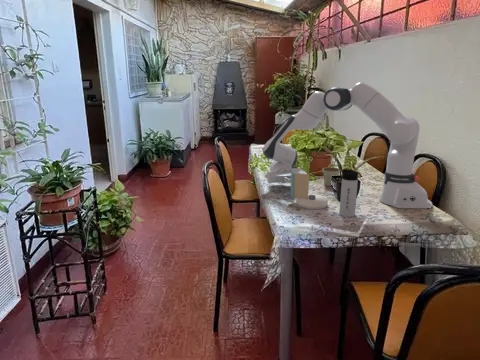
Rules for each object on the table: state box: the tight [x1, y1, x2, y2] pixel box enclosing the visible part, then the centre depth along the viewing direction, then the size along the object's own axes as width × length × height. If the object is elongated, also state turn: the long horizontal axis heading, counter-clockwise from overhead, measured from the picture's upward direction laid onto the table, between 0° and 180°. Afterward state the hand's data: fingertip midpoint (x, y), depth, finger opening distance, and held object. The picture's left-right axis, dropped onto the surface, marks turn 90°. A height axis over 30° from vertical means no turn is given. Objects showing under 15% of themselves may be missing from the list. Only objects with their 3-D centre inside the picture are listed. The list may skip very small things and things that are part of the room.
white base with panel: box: [290, 172, 329, 210], centre depth 165 cm, size 17×14×14 cm
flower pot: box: [321, 166, 340, 187], centre depth 199 cm, size 9×9×9 cm
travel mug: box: [338, 168, 359, 217], centre depth 152 cm, size 6×7×20 cm
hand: (291, 181), depth 176 cm, fingers closed
